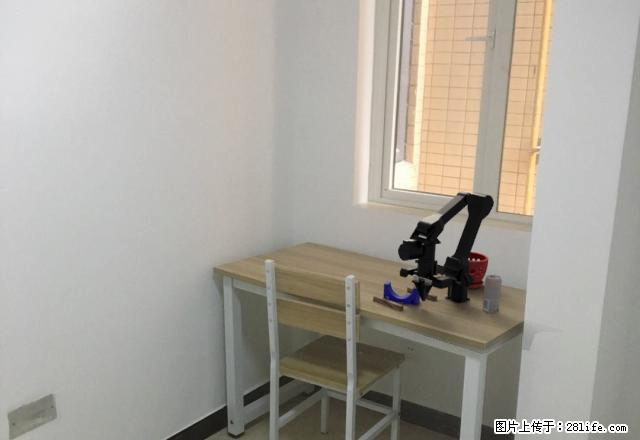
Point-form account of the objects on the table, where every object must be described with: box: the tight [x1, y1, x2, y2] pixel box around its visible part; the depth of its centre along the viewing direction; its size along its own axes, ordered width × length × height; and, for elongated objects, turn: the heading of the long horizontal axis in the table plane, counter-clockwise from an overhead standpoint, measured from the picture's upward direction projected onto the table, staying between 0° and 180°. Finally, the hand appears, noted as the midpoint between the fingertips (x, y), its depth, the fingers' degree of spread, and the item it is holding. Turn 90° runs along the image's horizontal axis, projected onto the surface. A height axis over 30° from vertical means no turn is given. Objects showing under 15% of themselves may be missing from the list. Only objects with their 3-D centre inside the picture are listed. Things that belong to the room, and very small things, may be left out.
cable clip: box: [382, 281, 421, 306], centre depth 209 cm, size 12×4×6 cm, turn 65°
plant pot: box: [453, 251, 489, 289], centre depth 229 cm, size 13×13×12 cm
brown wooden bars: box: [372, 286, 438, 311], centre depth 211 cm, size 13×19×2 cm
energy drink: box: [482, 274, 503, 314], centre depth 201 cm, size 5×5×12 cm
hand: (423, 301), depth 204 cm, fingers closed
